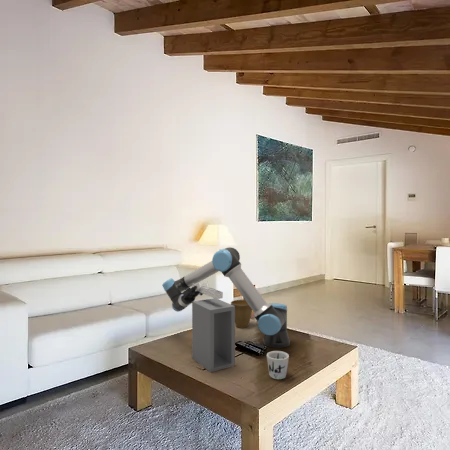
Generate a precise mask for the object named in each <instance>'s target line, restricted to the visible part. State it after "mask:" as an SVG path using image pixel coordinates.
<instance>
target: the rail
mask: <svg viewBox="0 0 450 450" xmlns="http://www.w3.org/2000/svg"><path fill="white" fill-rule="evenodd" d="M198 283H199V282H198ZM198 283H194V284H192V286H191V288H192V287H194V286H195V285H196V284H198ZM202 284H203V283H201V288H200V289H198V290H197V291H198V292H201V293H203V295H206V296H208V297H210V298H212V299H213V298H215V299H219V300H221V299H223V297H224V293H223V291H221V290H218V289H215V288H212V287H210V286H208V287H207V286H205V285H202Z"/></svg>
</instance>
